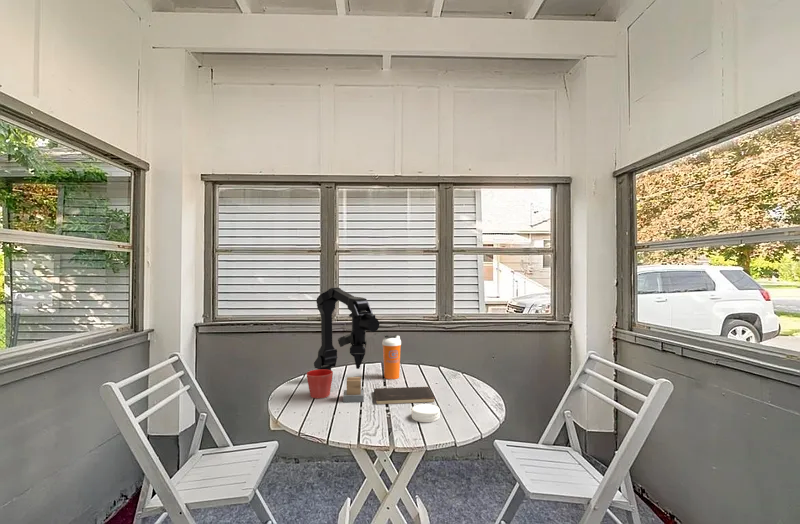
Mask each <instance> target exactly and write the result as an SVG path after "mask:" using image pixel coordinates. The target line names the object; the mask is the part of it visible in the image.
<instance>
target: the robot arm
mask: <svg viewBox="0 0 800 524" xmlns="http://www.w3.org/2000/svg"><path fill="white" fill-rule="evenodd" d="M315 301H316V307H317V310H318V312H319V313H320V321H321V322H320V326H321V327H320V332H321V337H320V339H321V346H320V348H319V349H318V352H317V357H316V359H315V361H314V363H313V366H314V369H316V370H319V369H327V370H331V371H332V368H334V367H336V366H337V360H338V350H337V349H336V348H335V347H334V345H333V312H334V311H335V309H336V306H337V305H336V303H337V302H338V301H339V302H340V303H342V304H344V305H346V306H347V309H348V310H349V311H350V312H351V313H349V315H348V317H350V318H351V331H350V333H349V334H346V335H343V336H340V337H338V338H337V341H338V345H339V347H340V348H341V347H344V346H347V345H351V346H350V347H349V354H350V355H351V356H352V357H353V359H354V363H355V368H356V369H357V370H359V369H360V368H361V365H362V362H363V360H364V358H365V356H366V348H367V339H366V332H371V333H374V332H377V331H378V329H379V327H380V322H379V319H378V318H377V317H376V314H373V310H372V308H371V306H370V304H369V302H368V300H367V298H366V297H360V296H354V295H353V294H350V293H349V292H346V291H345V290H343V289H342V288H340V287H337V286H336V287H330V288H329V289H328V290H326V291H324V292H323V293H320V294H319V295H318V296H317V297H316V300H315ZM332 380H333V376H332Z"/></svg>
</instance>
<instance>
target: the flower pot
mask: <svg viewBox="0 0 800 524" xmlns="http://www.w3.org/2000/svg"><path fill="white" fill-rule="evenodd" d="M333 374H334V372H333V370H332V369H331V370H327V369H313V370H308V371H307V372H306V380H307V385H308V389H309V396H310V397H311V398H312V399H315V400H316V399H317V400H318V399H325V398H328V397H330V395H331V388H332V382H333V379H332V377H333Z"/></svg>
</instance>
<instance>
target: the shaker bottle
mask: <svg viewBox="0 0 800 524" xmlns="http://www.w3.org/2000/svg"><path fill="white" fill-rule="evenodd" d="M383 337H384V338H383V339H382V344H381V345H382V352H383V353H382V355H383V358H382V359H383V374H384V375H383V376H384V379H386V380H396V379H399V378H400V374H401V373H400V367H401V346H402V340H401V336H400V335H399V334H397V333H395V334H394V335H393V334H384V335H383Z"/></svg>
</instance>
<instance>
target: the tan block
mask: <svg viewBox="0 0 800 524" xmlns="http://www.w3.org/2000/svg"><path fill="white" fill-rule="evenodd" d="M346 390H347V395H361V390H362V377H361V376H347V377H346Z"/></svg>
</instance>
